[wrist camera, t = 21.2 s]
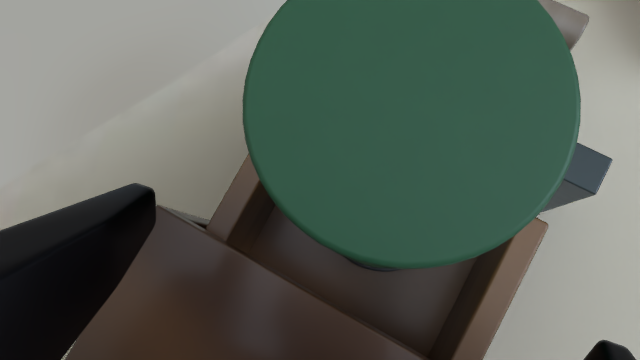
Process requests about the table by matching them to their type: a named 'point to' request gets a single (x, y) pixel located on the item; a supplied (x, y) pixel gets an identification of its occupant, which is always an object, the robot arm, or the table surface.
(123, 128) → the table surface
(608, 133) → the table surface
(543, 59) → the green cylinder
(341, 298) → the drawer
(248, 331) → the cabinet
